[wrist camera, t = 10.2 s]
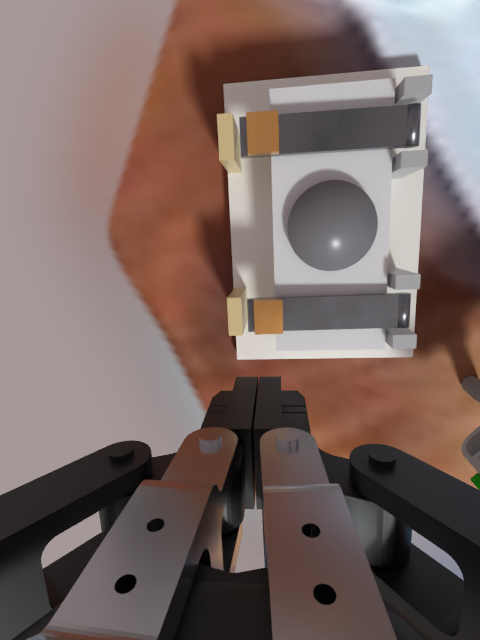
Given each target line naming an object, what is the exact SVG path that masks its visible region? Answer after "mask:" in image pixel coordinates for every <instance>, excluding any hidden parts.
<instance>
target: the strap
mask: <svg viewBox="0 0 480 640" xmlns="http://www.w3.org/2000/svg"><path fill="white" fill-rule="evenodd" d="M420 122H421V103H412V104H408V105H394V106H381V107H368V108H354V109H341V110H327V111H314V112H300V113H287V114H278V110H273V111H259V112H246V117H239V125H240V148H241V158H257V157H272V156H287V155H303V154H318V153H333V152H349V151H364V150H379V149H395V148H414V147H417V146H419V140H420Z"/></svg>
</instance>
